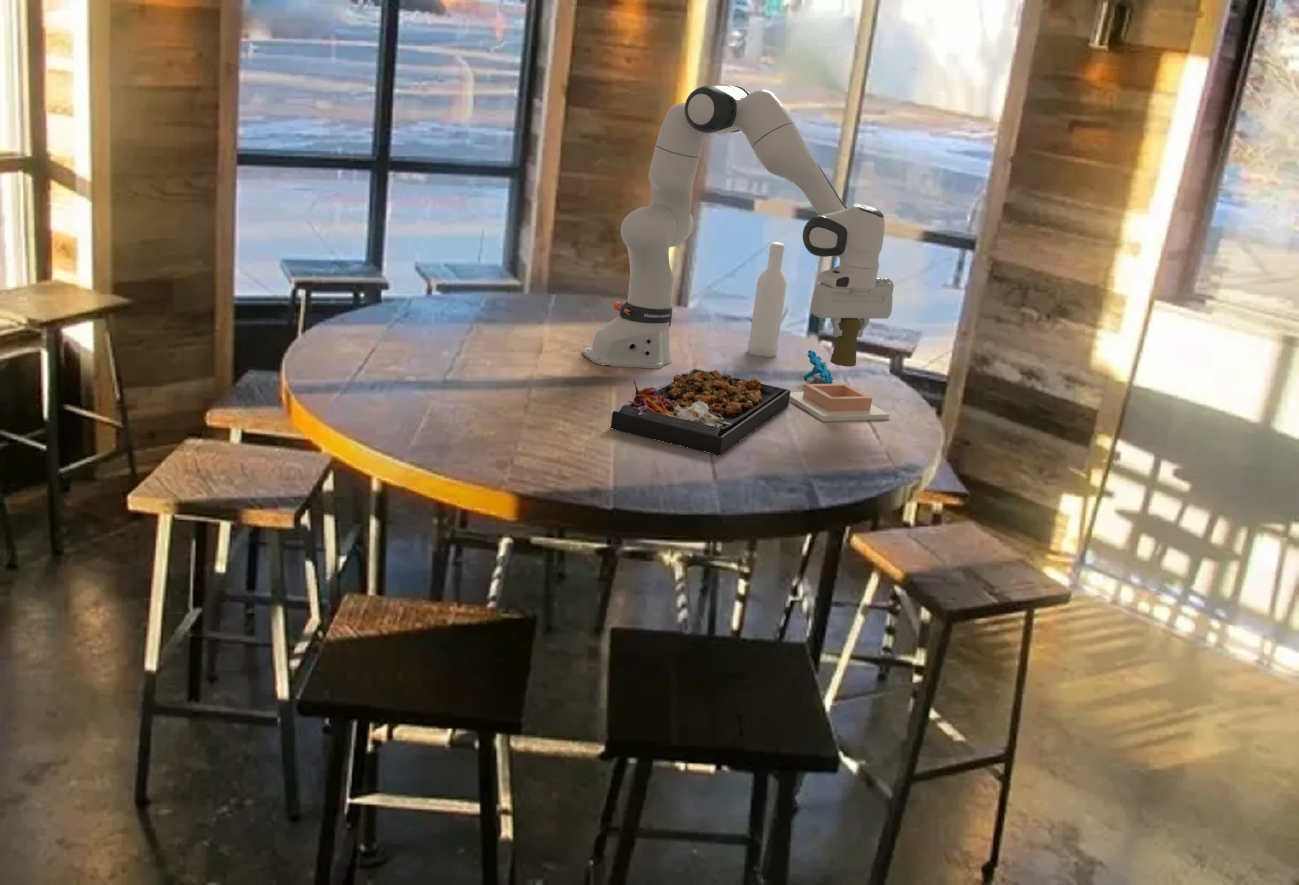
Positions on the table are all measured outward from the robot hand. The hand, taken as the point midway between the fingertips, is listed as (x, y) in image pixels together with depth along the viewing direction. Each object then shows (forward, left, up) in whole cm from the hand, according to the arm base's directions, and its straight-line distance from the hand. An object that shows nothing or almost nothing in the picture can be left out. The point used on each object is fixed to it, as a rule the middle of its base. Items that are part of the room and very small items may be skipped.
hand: (847, 336), depth 284 cm
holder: (0, 0, -17) cm, 17 cm away
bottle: (+6, +47, -18) cm, 51 cm away
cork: (0, 0, -7) cm, 7 cm away
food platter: (-36, -3, -18) cm, 41 cm away
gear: (+9, +22, -18) cm, 29 cm away
